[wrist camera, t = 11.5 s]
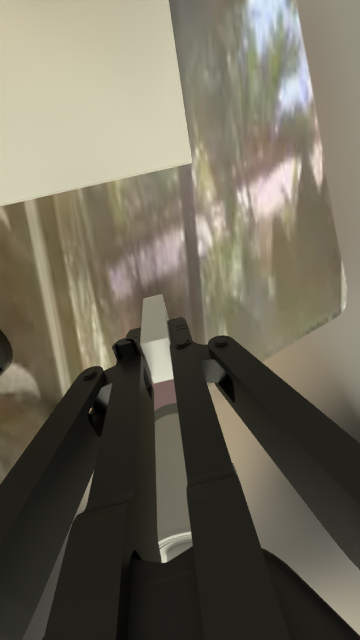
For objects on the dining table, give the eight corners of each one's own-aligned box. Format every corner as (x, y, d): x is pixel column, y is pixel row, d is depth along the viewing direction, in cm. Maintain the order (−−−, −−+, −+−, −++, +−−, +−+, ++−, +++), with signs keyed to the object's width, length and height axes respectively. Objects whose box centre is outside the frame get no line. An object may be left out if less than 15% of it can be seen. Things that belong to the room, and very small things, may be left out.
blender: (140, 396, 56) (127, 593, 27) (148, 355, 51) (142, 545, 22) (201, 401, 59) (247, 583, 30) (214, 363, 54) (284, 539, 25)
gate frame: (0, 206, 36) (-132, 206, 19) (-125, -38, 25) (-684, -530, 8) (190, 163, 36) (223, 126, 19) (152, -99, 25) (150, -705, 8)
